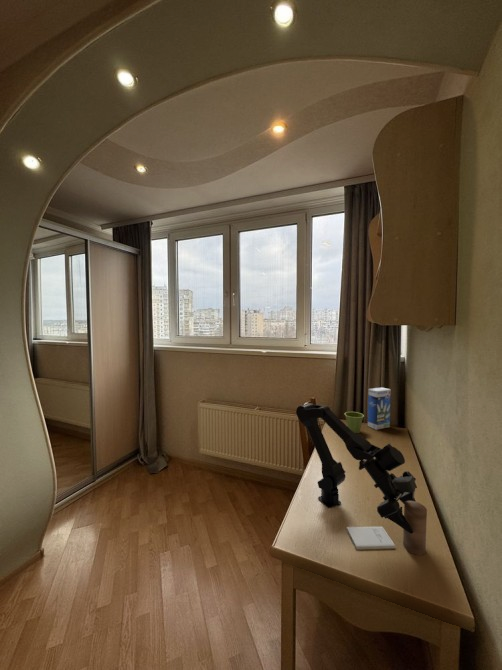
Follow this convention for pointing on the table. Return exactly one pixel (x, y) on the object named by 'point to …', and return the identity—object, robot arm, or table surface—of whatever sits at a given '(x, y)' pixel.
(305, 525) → the table surface
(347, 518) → the table surface
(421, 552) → the walnut roller
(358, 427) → the plant pot
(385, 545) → the external hard drive
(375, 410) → the string lights box
